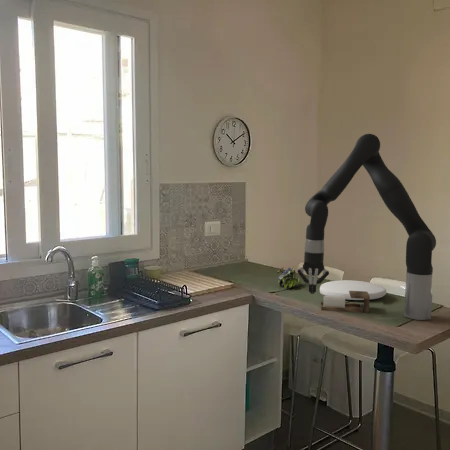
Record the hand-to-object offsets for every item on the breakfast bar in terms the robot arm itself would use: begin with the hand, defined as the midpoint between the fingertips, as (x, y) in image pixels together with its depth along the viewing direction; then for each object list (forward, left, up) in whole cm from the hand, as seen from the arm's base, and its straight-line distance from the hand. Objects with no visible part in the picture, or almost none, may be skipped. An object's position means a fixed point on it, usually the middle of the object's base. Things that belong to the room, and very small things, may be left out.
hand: (312, 293), depth 207 cm
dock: (-13, +1, -6) cm, 14 cm away
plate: (-18, -23, -7) cm, 30 cm away
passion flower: (+10, -34, -7) cm, 36 cm away
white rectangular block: (-9, +1, -5) cm, 10 cm away
